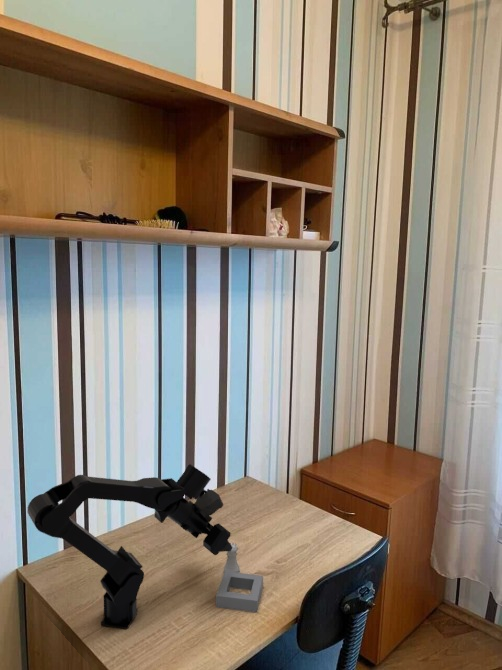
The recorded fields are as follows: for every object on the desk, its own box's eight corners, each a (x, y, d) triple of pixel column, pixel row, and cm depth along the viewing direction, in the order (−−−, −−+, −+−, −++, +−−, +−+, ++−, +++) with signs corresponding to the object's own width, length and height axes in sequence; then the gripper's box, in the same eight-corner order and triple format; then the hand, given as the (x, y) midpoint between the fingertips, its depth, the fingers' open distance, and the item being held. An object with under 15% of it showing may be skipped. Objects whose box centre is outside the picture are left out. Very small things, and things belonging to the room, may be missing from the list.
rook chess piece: (221, 570, 139) (221, 542, 138) (236, 566, 141) (237, 539, 139) (226, 579, 135) (226, 551, 134) (242, 576, 136) (242, 548, 135)
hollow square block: (215, 607, 124) (216, 595, 124) (224, 581, 134) (224, 571, 134) (257, 612, 123) (257, 600, 122) (262, 586, 132) (263, 575, 132)
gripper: (224, 499, 121) (260, 529, 129) (185, 472, 136) (220, 500, 144) (194, 541, 118) (234, 569, 126) (158, 508, 133) (196, 535, 141)
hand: (221, 540), depth 134 cm, fingers open, 9 cm apart
